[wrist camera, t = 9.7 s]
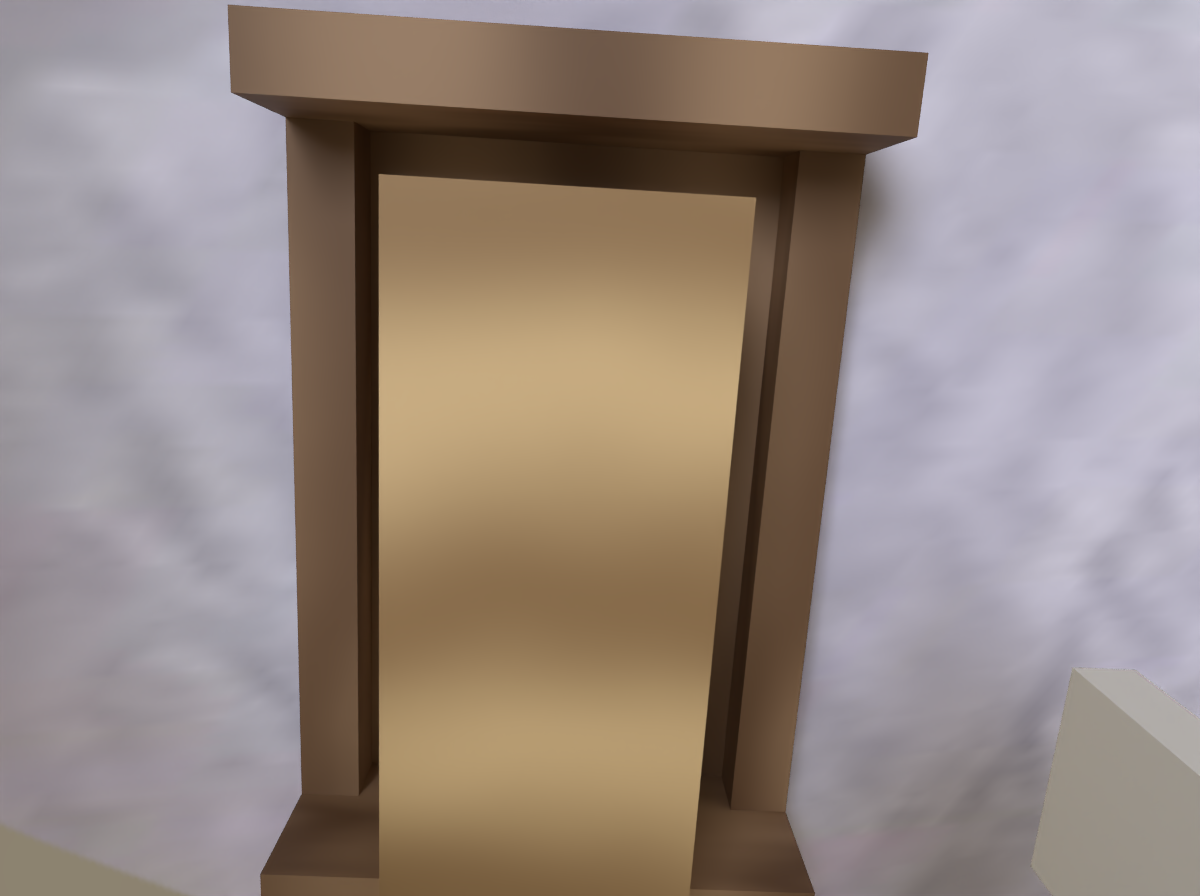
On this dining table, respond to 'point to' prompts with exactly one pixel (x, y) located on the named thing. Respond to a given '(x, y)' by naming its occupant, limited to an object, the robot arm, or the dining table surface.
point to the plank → (550, 529)
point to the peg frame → (585, 159)
